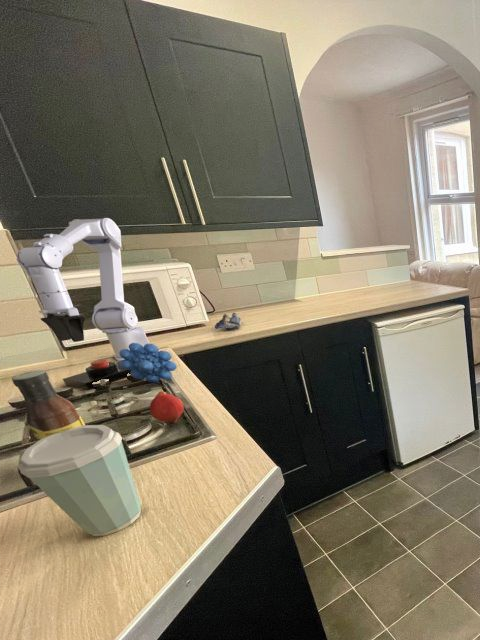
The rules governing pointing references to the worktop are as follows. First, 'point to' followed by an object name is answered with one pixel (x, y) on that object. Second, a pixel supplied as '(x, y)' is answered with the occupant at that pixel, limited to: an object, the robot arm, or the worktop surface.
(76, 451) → the disposable coffee cup
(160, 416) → the onion
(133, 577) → the worktop surface
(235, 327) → the blue grey figurine
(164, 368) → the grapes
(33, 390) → the sauce bottle
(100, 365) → the button
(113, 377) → the switch box
